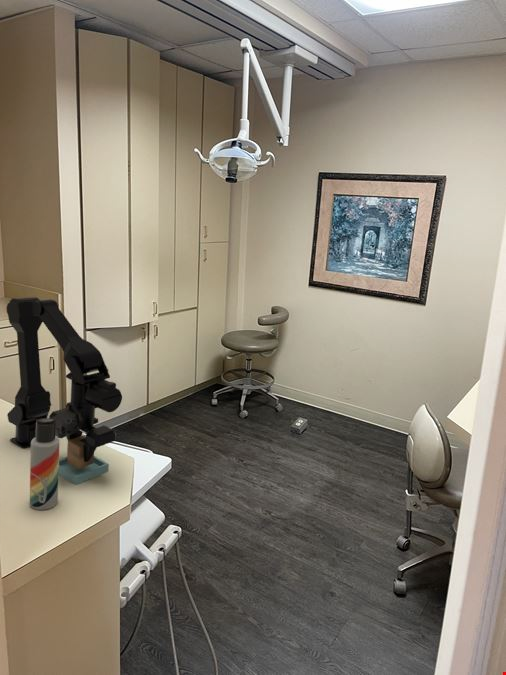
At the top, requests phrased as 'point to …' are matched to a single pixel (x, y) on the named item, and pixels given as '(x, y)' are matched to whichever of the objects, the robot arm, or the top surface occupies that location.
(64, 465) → the teal tray
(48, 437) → the lotion bottle
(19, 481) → the top surface
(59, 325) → the robot arm
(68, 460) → the walnut block
